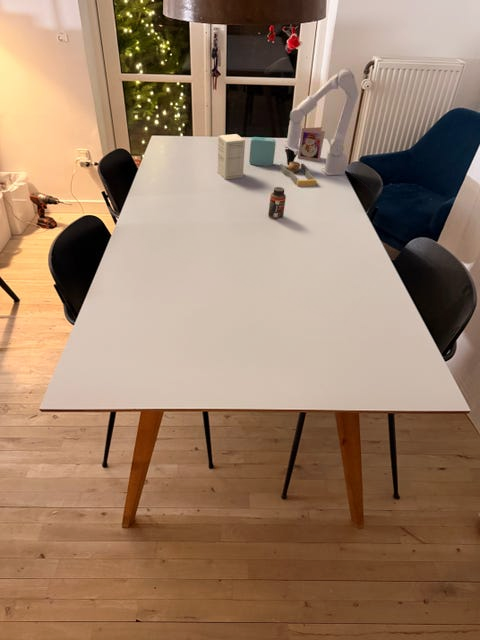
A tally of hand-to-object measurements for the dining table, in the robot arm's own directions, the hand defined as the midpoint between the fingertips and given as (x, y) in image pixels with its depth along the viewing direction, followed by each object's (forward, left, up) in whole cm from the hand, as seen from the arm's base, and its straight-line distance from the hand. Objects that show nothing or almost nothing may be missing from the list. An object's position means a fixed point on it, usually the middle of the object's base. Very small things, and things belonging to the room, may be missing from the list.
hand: (289, 164), depth 215 cm
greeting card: (-15, -12, -1) cm, 19 cm away
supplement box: (+32, +7, -1) cm, 33 cm away
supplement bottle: (+24, +51, -1) cm, 57 cm away
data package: (+13, -6, -2) cm, 14 cm away
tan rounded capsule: (0, +6, -1) cm, 6 cm away
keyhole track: (0, +13, -1) cm, 13 cm away
